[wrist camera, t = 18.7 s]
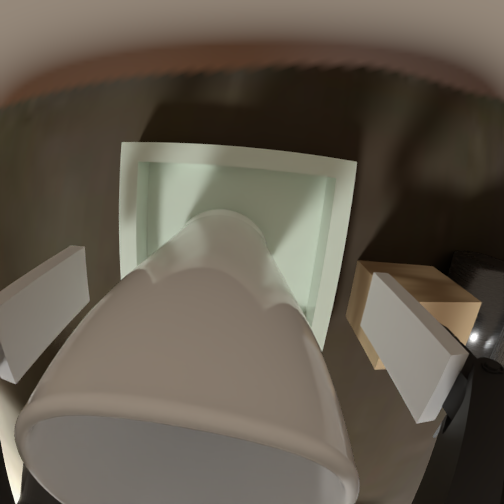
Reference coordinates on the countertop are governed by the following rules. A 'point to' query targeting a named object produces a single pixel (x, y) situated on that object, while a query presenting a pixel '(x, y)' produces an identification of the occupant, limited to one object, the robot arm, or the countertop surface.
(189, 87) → the countertop surface
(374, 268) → the wooden block
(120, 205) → the tray
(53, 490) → the drinking glass
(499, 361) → the grey toy cart
